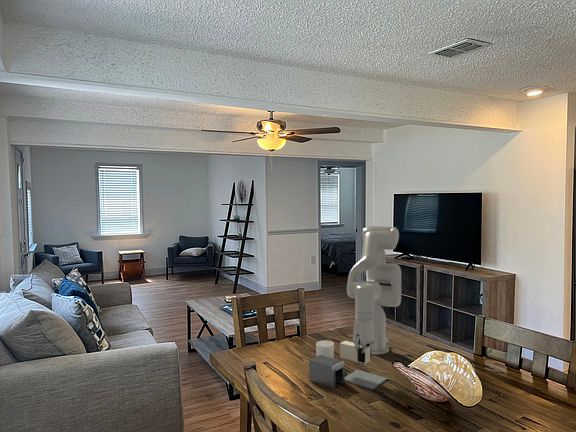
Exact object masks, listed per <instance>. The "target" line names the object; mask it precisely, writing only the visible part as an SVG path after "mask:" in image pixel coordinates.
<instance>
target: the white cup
mask: <svg viewBox="0 0 576 432" xmlns="http://www.w3.org/2000/svg"><path fill="white" fill-rule="evenodd" d="M334 348H335V343H334V342H333V341H330V340H318V341H317V342H315V350H316V357H317V356H319V355H323V356H326V357H330V358H333V359H334V352H335V351H334V350H335V349H334Z"/></svg>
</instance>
